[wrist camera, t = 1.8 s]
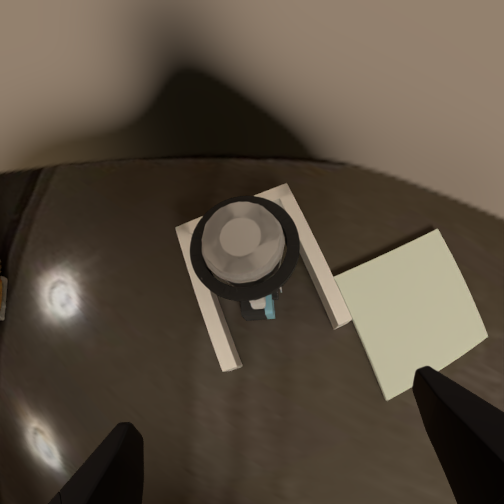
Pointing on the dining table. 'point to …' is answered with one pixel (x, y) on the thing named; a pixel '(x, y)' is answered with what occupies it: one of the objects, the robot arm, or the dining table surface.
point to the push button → (246, 252)
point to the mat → (411, 311)
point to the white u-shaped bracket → (311, 259)
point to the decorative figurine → (3, 295)
